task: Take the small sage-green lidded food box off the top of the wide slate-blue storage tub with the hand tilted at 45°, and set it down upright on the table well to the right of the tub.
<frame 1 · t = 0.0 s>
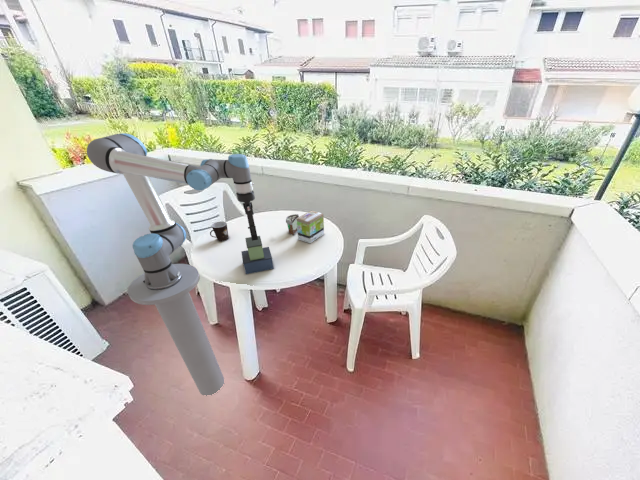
hand: (253, 233, 138), 21 cm above the table, tool pointing down, fingers open, 13 cm apart
food container: (292, 231, 186), on the table
blue tub: (258, 265, 152), on the table, touching green box
coffee mug: (220, 240, 176), on the table
green box: (256, 254, 148), point 7 cm above the table, touching blue tub
tea box: (311, 237, 180), on the table
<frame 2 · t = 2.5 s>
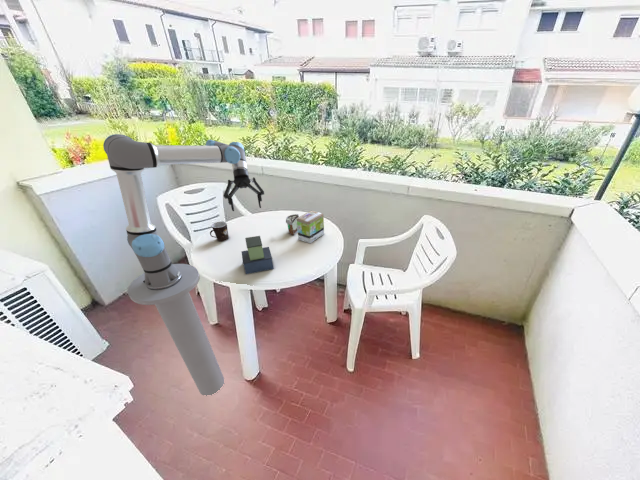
hand: (246, 208, 148), 27 cm above the table, tool tilted 45°, fingers open, 13 cm apart
nothing on the table moved.
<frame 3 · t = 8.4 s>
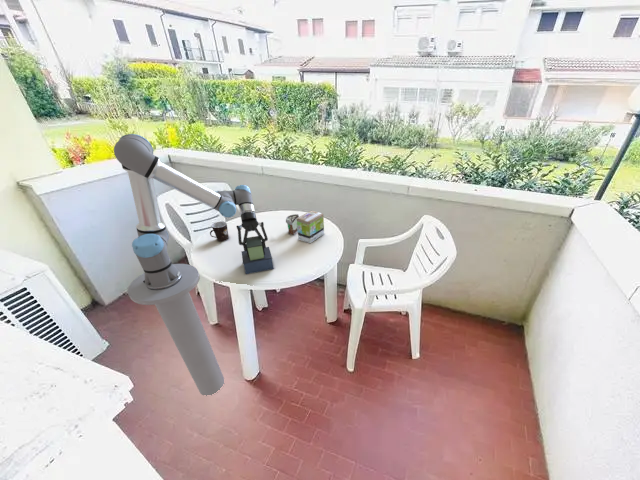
hand: (256, 255, 145), 9 cm above the table, tool tilted 45°, fingers closed on green box, 7 cm apart
green box: (256, 254, 148), point 7 cm above the table, touching blue tub, gripper
everything else where it was.
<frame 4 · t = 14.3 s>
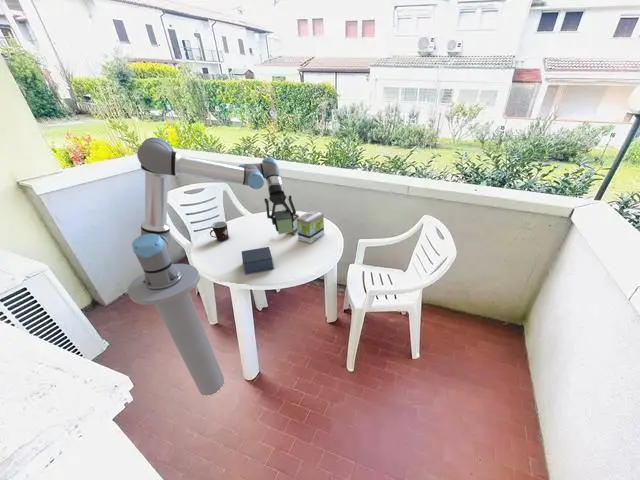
hand: (285, 229, 141), 22 cm above the table, tool tilted 45°, fingers closed on green box, 7 cm apart
blue tub: (258, 265, 152), on the table
green box: (284, 228, 145), point 20 cm above the table, touching gripper
everything else where it was.
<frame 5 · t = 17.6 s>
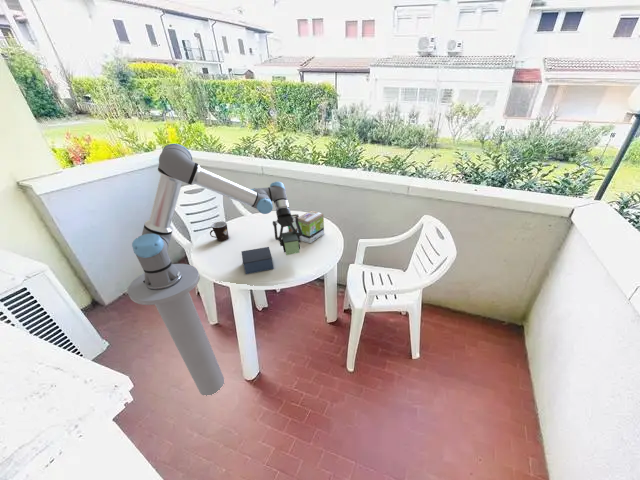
hand: (292, 250, 149), 9 cm above the table, tool tilted 45°, fingers closed on green box, 7 cm apart
green box: (291, 249, 152), point 8 cm above the table, touching gripper
everything else where it was.
when the fingers open (1 cm above the table, at t = 20.1 s): green box stays where it is, on the table.
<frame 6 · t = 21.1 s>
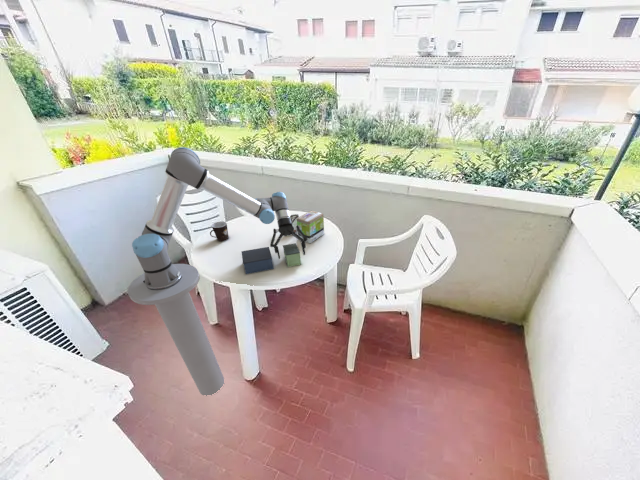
hand: (292, 256, 152), 4 cm above the table, tool tilted 45°, fingers open, 13 cm apart
green box: (292, 261, 156), on the table
everything else where it was.
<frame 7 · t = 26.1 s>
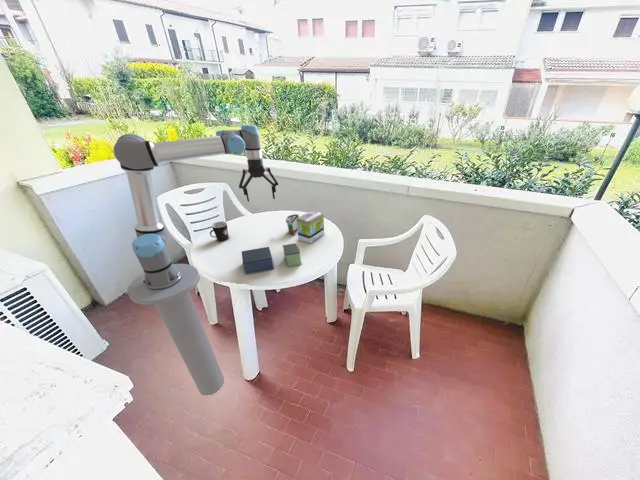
hand: (261, 199, 154), 29 cm above the table, tool pointing down, fingers open, 13 cm apart
nothing on the table moved.
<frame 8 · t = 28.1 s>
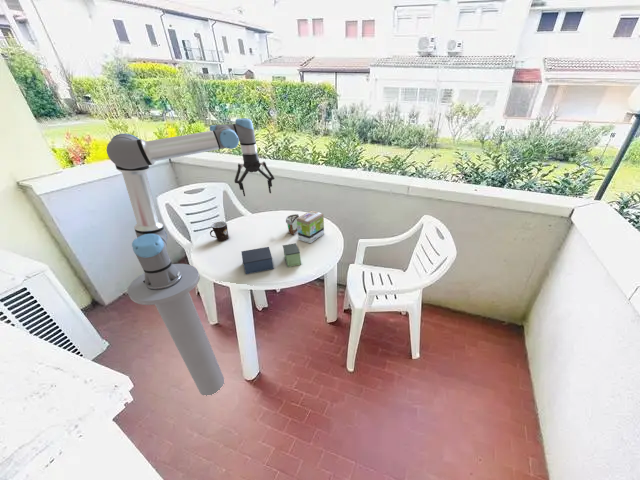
hand: (257, 194, 154), 32 cm above the table, tool pointing down, fingers open, 13 cm apart
nothing on the table moved.
at the end: green box inside the target area (0.0 cm from its centre), on the table; green box tilted 0°; blue tub moved 0.0 cm from its start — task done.
